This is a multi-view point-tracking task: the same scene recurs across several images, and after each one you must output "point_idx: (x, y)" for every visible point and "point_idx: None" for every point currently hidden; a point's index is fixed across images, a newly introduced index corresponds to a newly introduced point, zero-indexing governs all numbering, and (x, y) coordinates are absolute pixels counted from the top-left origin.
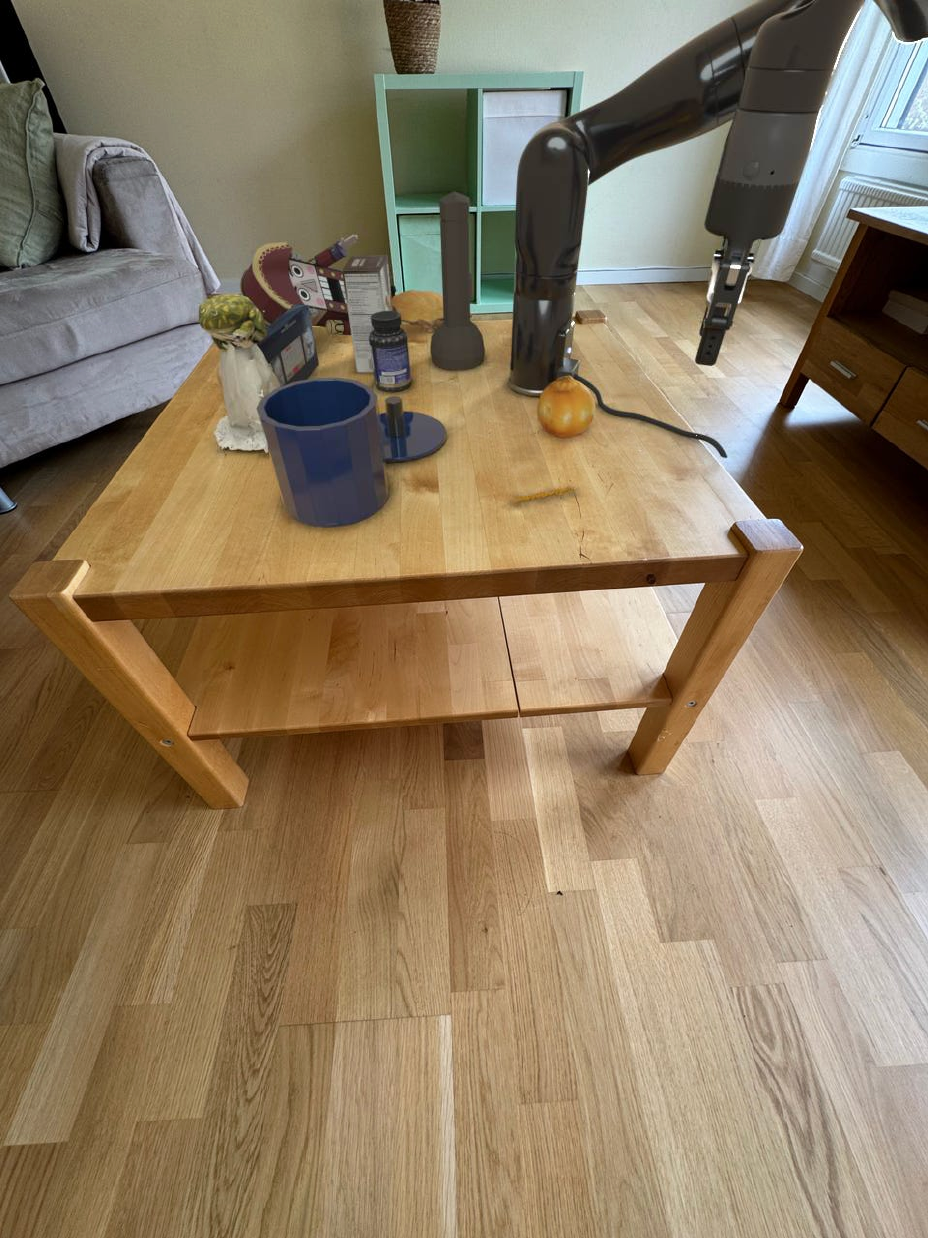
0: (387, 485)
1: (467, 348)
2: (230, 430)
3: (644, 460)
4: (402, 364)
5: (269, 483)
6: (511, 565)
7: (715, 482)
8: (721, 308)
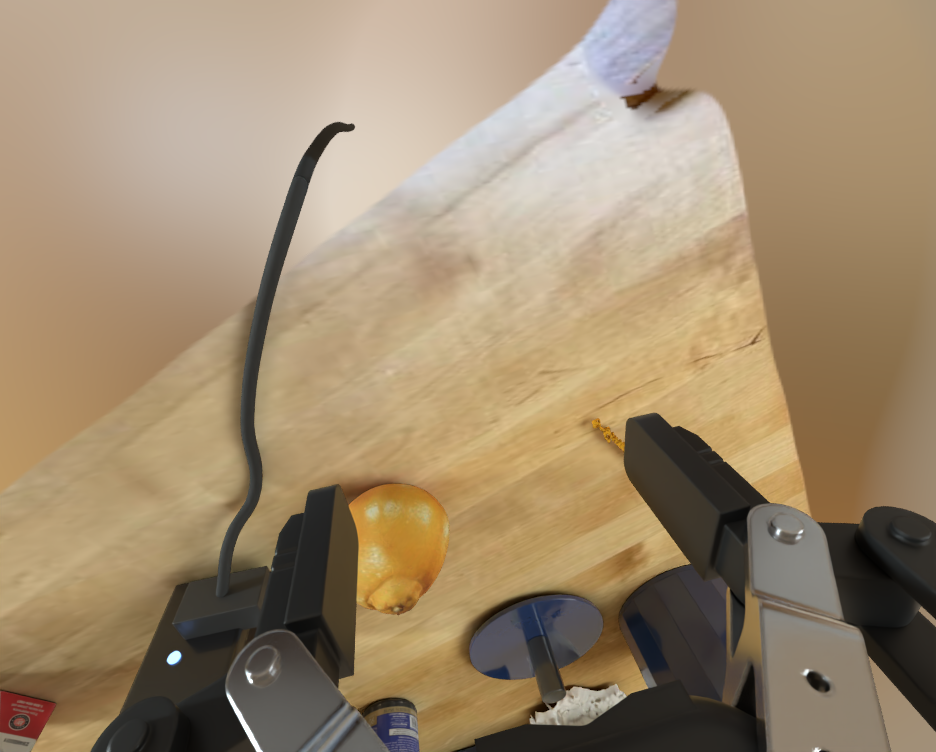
0: (663, 586)
1: None
2: None
3: (426, 351)
4: (397, 744)
5: None
6: (783, 407)
7: (448, 181)
8: (330, 608)
